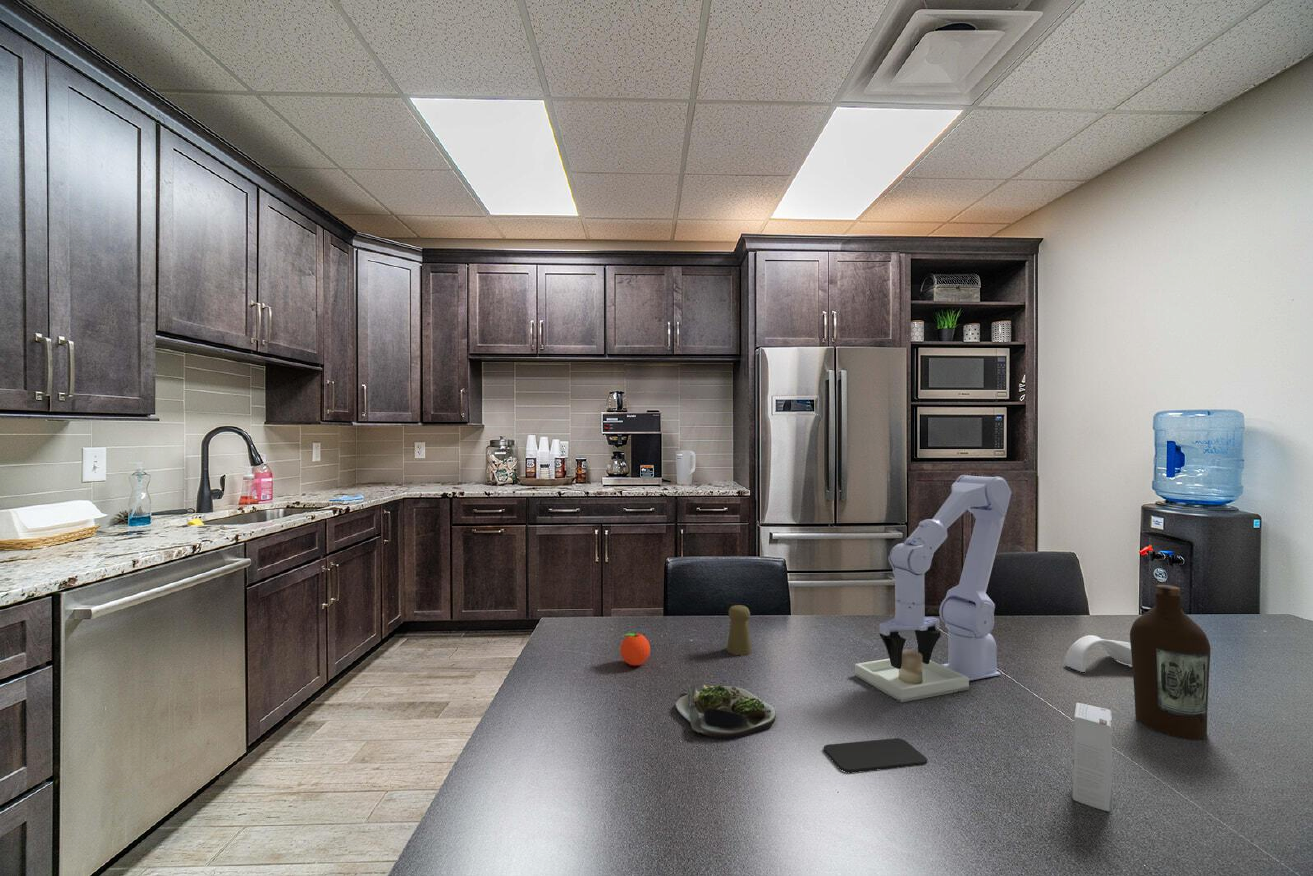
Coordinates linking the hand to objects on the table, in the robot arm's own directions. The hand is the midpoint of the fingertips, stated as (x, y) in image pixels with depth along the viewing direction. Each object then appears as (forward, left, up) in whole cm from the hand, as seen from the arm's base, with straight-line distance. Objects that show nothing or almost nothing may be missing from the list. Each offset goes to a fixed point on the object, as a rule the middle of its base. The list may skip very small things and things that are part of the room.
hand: (910, 664), depth 117 cm
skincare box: (+5, +39, -4) cm, 40 cm away
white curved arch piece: (-51, +9, -4) cm, 52 cm away
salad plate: (+44, 0, -4) cm, 44 cm away
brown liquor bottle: (-30, +30, -4) cm, 43 cm away
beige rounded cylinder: (0, 0, -3) cm, 3 cm away
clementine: (+53, -29, -4) cm, 61 cm away
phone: (+27, +20, -4) cm, 34 cm away
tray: (0, 0, -4) cm, 4 cm away
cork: (+26, -28, -4) cm, 38 cm away
